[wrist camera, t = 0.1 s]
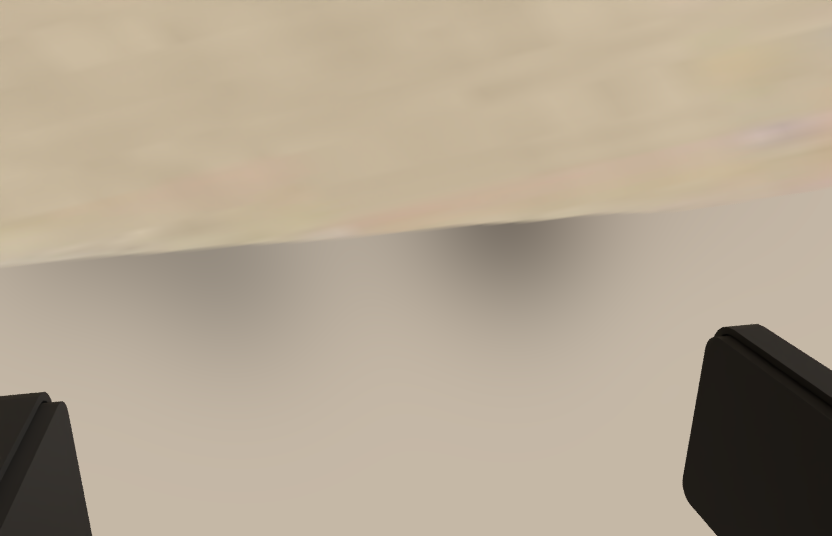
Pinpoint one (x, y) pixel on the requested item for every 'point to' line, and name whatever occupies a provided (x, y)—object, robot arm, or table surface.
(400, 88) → the table surface
